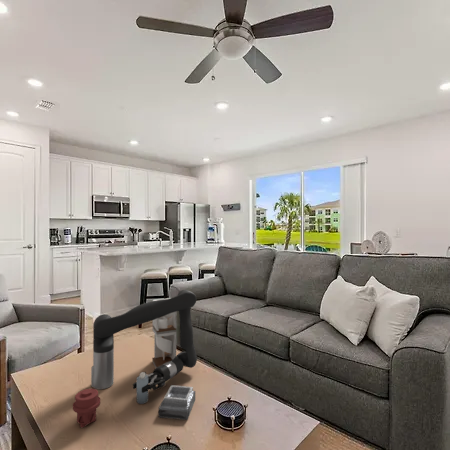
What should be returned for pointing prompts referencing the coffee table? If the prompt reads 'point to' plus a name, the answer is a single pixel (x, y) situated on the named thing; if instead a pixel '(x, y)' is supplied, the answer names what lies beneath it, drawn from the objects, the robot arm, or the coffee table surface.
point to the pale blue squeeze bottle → (141, 382)
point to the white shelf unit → (164, 338)
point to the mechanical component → (86, 406)
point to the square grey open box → (177, 403)
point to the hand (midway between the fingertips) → (137, 388)
